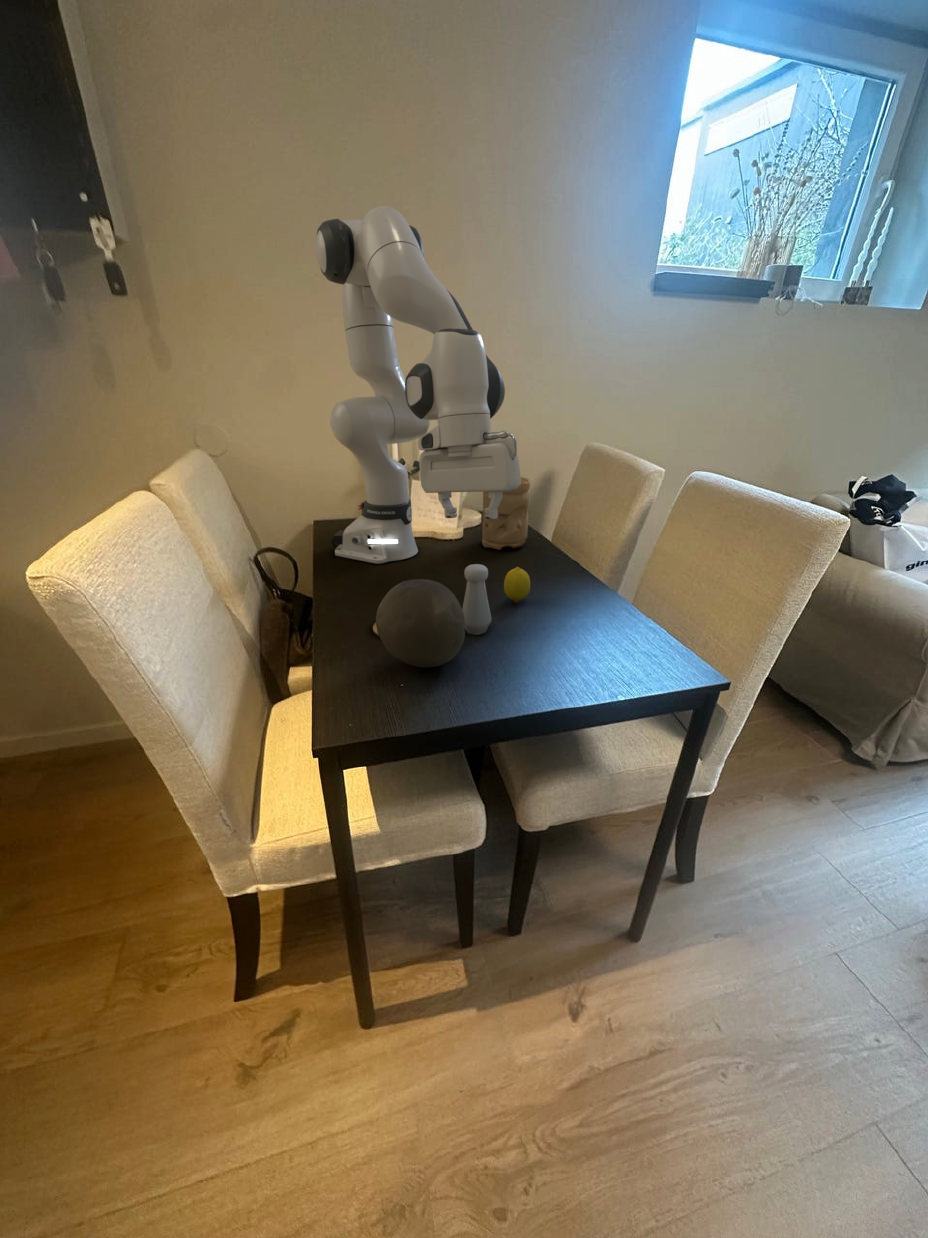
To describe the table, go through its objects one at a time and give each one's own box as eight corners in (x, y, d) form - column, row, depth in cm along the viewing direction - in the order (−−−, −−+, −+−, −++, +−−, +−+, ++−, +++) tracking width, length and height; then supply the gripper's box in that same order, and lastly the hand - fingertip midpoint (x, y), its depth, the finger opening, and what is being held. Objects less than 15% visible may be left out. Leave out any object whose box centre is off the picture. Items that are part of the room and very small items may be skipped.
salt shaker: (492, 623, 98) (493, 561, 92) (490, 637, 93) (491, 572, 87) (462, 622, 98) (462, 560, 92) (459, 636, 93) (458, 571, 87)
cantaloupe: (422, 636, 93) (418, 561, 87) (482, 661, 85) (483, 580, 79) (364, 667, 84) (355, 586, 77) (425, 699, 76) (421, 611, 69)
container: (478, 550, 137) (478, 483, 129) (486, 536, 148) (487, 474, 140) (523, 553, 134) (527, 486, 126) (529, 539, 145) (532, 476, 137)
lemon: (512, 610, 103) (513, 574, 100) (498, 600, 108) (499, 565, 104) (534, 604, 106) (536, 569, 102) (520, 595, 110) (521, 561, 106)
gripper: (526, 429, 79) (529, 516, 84) (435, 440, 93) (441, 515, 97) (503, 429, 75) (507, 521, 79) (410, 440, 88) (418, 519, 92)
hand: (470, 518), depth 88 cm, fingers open, 8 cm apart
